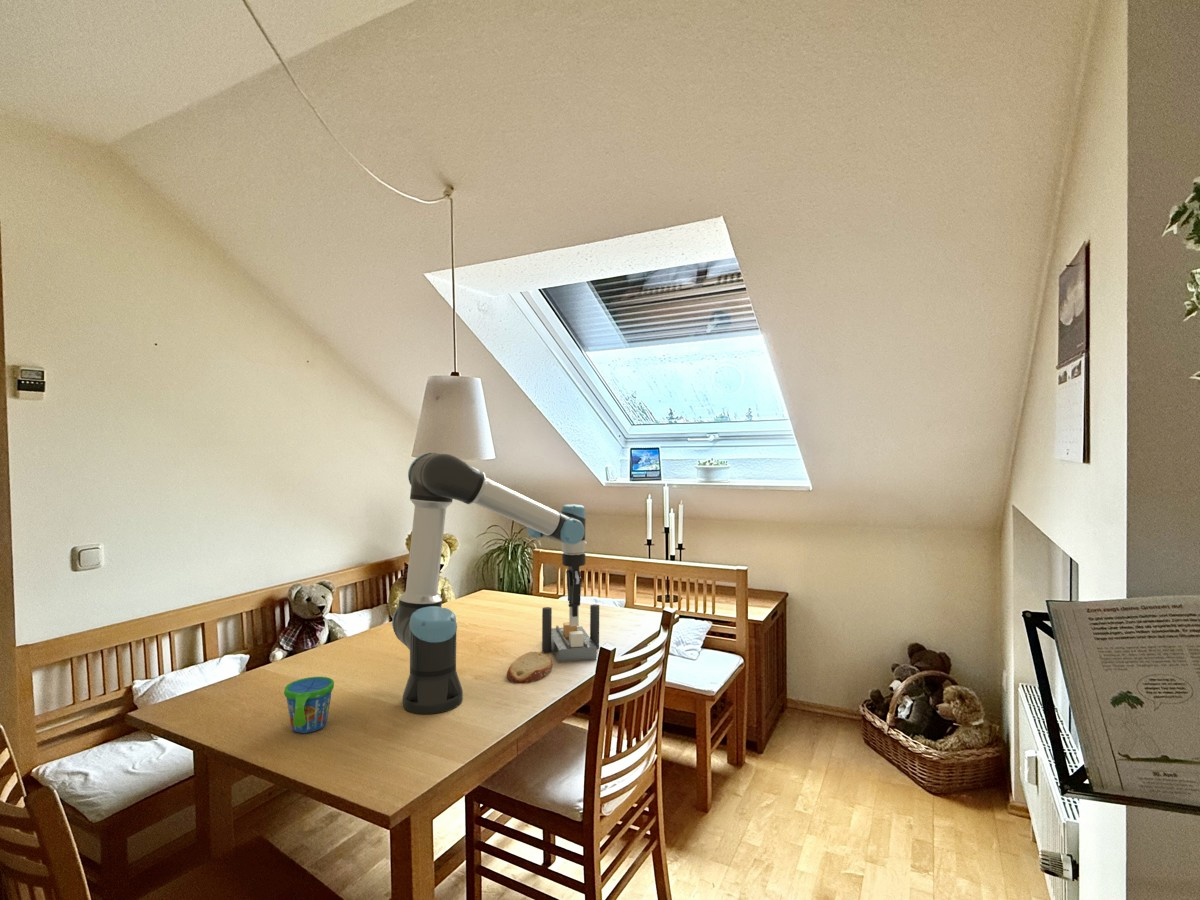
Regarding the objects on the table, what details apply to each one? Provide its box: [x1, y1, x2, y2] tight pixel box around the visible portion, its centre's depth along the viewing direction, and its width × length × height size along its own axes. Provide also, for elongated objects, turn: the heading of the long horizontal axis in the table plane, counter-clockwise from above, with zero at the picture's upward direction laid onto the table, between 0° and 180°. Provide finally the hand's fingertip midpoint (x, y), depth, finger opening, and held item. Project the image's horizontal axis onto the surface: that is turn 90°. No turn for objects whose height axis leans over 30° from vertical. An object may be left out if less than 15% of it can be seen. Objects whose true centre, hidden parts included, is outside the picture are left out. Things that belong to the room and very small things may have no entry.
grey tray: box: [551, 625, 598, 663], centre depth 200 cm, size 22×12×5 cm, turn 14°
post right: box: [589, 604, 600, 650], centre depth 202 cm, size 3×3×14 cm
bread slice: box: [506, 651, 553, 685], centre depth 182 cm, size 18×18×4 cm
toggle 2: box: [569, 631, 584, 647], centre depth 192 cm, size 3×4×4 cm
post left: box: [541, 606, 553, 654], centre depth 198 cm, size 3×3×14 cm
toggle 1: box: [562, 622, 578, 637], centre depth 202 cm, size 3×4×4 cm
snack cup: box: [283, 676, 335, 734], centre depth 144 cm, size 16×10×10 cm
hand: (574, 625), depth 197 cm, fingers closed
